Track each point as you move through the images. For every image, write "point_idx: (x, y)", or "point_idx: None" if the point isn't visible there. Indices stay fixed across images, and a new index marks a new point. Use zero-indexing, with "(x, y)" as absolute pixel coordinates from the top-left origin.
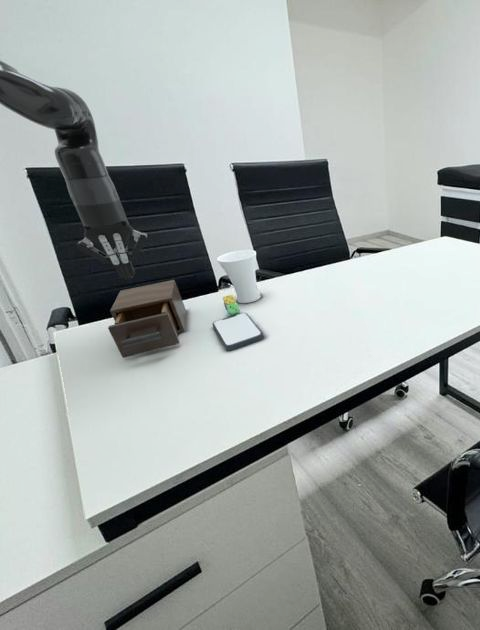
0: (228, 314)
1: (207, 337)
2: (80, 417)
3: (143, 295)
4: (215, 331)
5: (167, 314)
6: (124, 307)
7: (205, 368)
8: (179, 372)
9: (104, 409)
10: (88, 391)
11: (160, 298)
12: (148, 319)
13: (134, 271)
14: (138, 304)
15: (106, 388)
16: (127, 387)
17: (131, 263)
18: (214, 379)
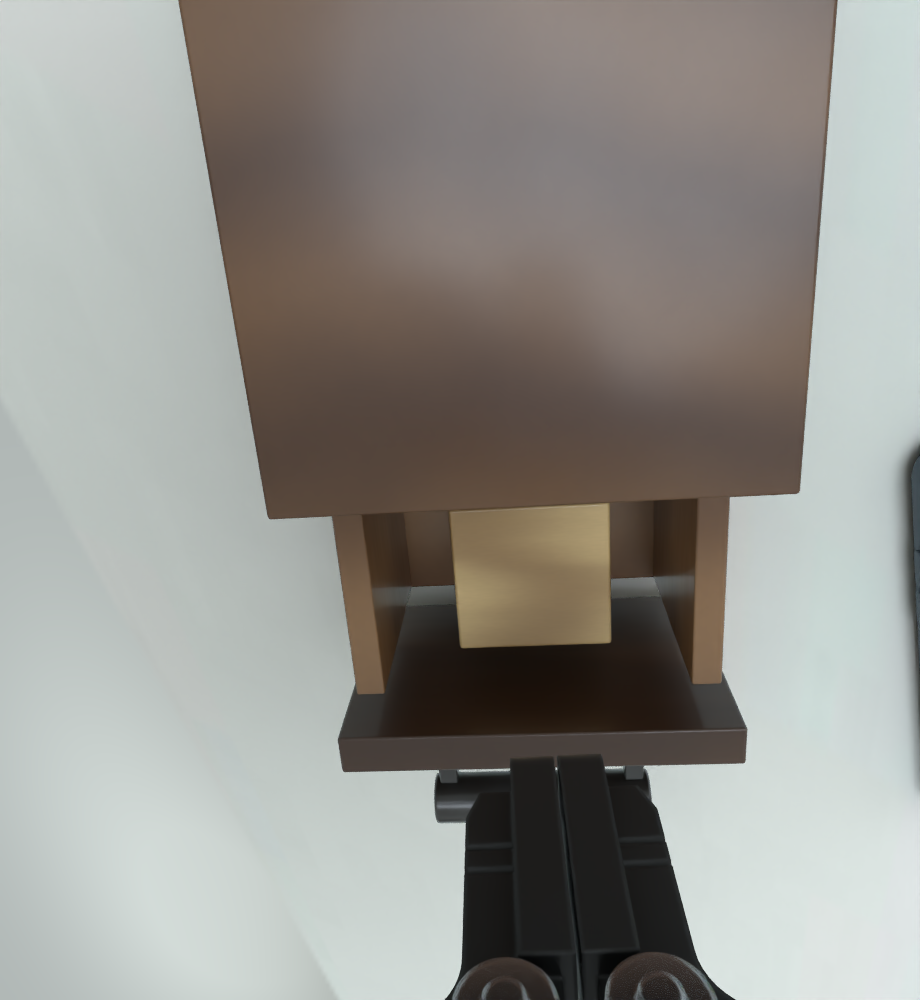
0: None
1: (845, 571)
2: (338, 972)
3: (503, 232)
4: (917, 576)
5: (743, 762)
6: (381, 507)
7: (797, 890)
8: (680, 865)
9: (412, 967)
10: (298, 818)
11: (696, 457)
12: (604, 761)
13: (658, 832)
14: (499, 500)
15: (372, 832)
16: (464, 868)
17: (689, 942)
18: (825, 984)
